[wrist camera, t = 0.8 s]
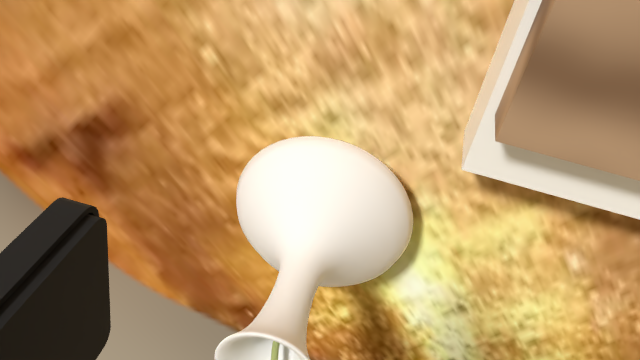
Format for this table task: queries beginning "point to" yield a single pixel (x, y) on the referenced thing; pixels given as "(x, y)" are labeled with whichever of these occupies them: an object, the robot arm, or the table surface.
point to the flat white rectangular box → (528, 165)
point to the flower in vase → (314, 233)
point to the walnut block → (578, 86)
